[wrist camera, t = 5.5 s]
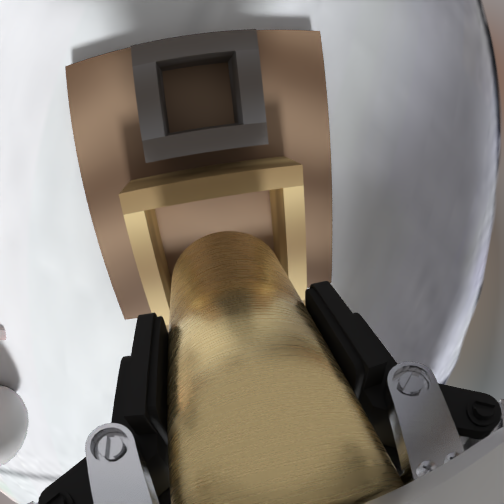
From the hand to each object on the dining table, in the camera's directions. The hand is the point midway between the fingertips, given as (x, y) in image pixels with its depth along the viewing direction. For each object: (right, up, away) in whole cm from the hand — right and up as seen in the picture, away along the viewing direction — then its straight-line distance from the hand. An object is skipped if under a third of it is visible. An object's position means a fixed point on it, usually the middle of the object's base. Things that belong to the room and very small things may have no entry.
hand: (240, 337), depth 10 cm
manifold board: (-2, +7, +7) cm, 10 cm away
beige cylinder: (-1, +1, +3) cm, 3 cm away
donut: (-25, -11, +12) cm, 30 cm away
